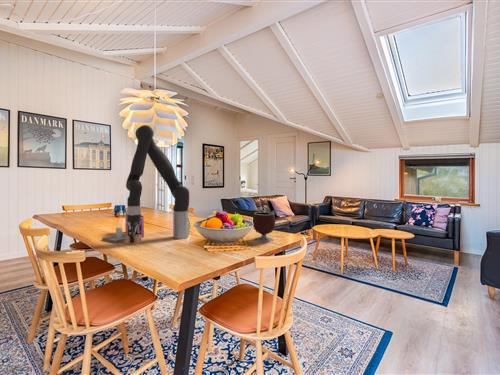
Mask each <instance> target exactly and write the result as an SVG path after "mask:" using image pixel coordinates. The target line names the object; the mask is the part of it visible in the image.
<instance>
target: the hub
mask: <svg viewBox="0 0 500 375" xmlns="http://www.w3.org/2000/svg"><path fill="white" fill-rule="evenodd" d="M126 235H127V236H126V241H125V242H126V243H125V244H127V245H131V244H132V245H134V244H135V245H138V244H141V242H142V238H141V234H134V243H130V237H129V236H128V234H126Z"/></svg>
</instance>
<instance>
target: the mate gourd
mask: <svg viewBox="0 0 500 375" xmlns="http://www.w3.org/2000/svg"><path fill="white" fill-rule="evenodd" d="M275 212H277V209H275V210H272V211H257V212H254V214H253V219H252V221H253V224H252V225H253V229H254V230H255V233H258V234H260V235H261V236H257V237H254V238H253V240H254V241H255V240H256V241H255V242H257V241H259V242H258V243H271V242H270V241H272V242H273V241H274V238H273V237H271V236H269V237H268V236H267V235H268V234H271V233H272V232H273V231H274V229H275V226H276V216H275Z"/></svg>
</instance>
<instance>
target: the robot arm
mask: <svg viewBox="0 0 500 375" xmlns="http://www.w3.org/2000/svg"><path fill="white" fill-rule="evenodd" d="M134 134H135V138H136V140H137V145H136V146H137V147H136V149H135V153H134V155H133V158H132V162H131V167H130V171H129V175H128V177H127V178H126V182H125V187H126V190H128V191H129V195H128V197H127V204H126V205H127V208H126V213H127V222H130V226H128V234H127V235H128V236H129V237H130V243H134V233H135V234H138V233H139V231H140V221H141V215H142V211H141V209H142V208H141V196H142V193H143V192H142V191H143V184H142V182H141V181H140V178H141V177H142V176H143V175H144V172H145V171H144V170H145V166H146V159H147V155H148V157H149V158H150V160H151V162H152V164H153V166H154V167H155V168H156V171H157V172H158V174H159V175H160V177H161V178H162V179H163V181H164V182H165V183H166V185H167V187H168V189H169V191H170V194H171V196H172V197H173V198H174V206H173V207H172V208H173V209H172V211H173V212H172V213H173V215H172V217H173V219H172V220H173V222H172V224H173V225H172V229H173V230H172V237H173V239H176V240H177V239H179V240H182V239H186V238H189V237H190V222H189V207H190V206H189V205H190V190H189V189H188V188H187V187H186V186H183V185H182V184H181V182H180V180H178V178H177V176H176V172H175V170H174V167H173V164H172V163H171V161H170V160H169V158H168V157H167V155H166V154H165V153H164V151H163V150H161V148H159V147H158V145H157V143H156V142H155V140H154V134H155V133H154V130H153V128H152V127H151V126H150V125H147V124H144V125H141V126H139V127H138V128H137V129H136V130H135V133H134ZM131 233H132V234H131Z"/></svg>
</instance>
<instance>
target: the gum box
mask: <svg viewBox="0 0 500 375" xmlns="http://www.w3.org/2000/svg"><path fill="white" fill-rule="evenodd" d="M128 226H130V222H127V212H125V234H126V235H128ZM131 234H132V233H131ZM134 234H135V233H134ZM138 234H141V239H142V238H145V217H144V216H143V215H142V214H141V221H140V231H139V233H138Z"/></svg>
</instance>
